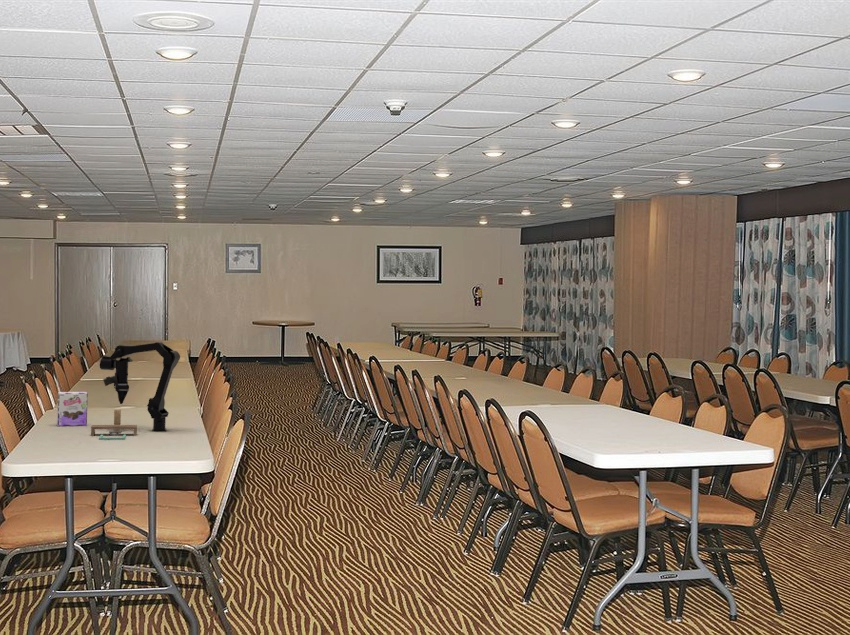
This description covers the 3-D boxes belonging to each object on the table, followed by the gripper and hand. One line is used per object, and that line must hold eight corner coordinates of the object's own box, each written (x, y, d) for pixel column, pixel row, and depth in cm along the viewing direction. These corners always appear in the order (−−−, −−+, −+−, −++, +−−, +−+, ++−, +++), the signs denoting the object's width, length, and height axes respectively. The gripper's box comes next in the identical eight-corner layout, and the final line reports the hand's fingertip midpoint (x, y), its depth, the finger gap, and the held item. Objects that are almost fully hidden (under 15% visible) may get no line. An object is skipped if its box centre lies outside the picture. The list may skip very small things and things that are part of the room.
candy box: (57, 426, 485) (58, 392, 484) (56, 424, 490) (57, 391, 490) (87, 425, 490) (87, 392, 489) (86, 424, 495) (87, 391, 495)
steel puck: (109, 434, 463) (109, 431, 463) (118, 434, 465) (118, 431, 465) (109, 435, 460) (109, 432, 460) (118, 435, 461) (118, 432, 461)
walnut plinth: (92, 433, 463) (92, 424, 463) (136, 433, 467) (136, 424, 467) (90, 435, 457) (91, 426, 457) (136, 435, 462) (136, 426, 462)
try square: (112, 427, 488) (112, 409, 488) (122, 427, 489) (123, 409, 489) (109, 433, 466) (109, 415, 466) (120, 433, 468) (120, 415, 468)
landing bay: (100, 436, 456) (100, 434, 456) (125, 436, 459) (125, 434, 459) (98, 439, 445) (99, 438, 445) (124, 439, 448) (124, 437, 448)
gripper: (103, 368, 489) (102, 400, 489) (105, 372, 471) (103, 405, 471) (127, 369, 492) (125, 400, 493) (129, 372, 475) (128, 405, 475)
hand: (120, 402), depth 483 cm, fingers open, 9 cm apart
